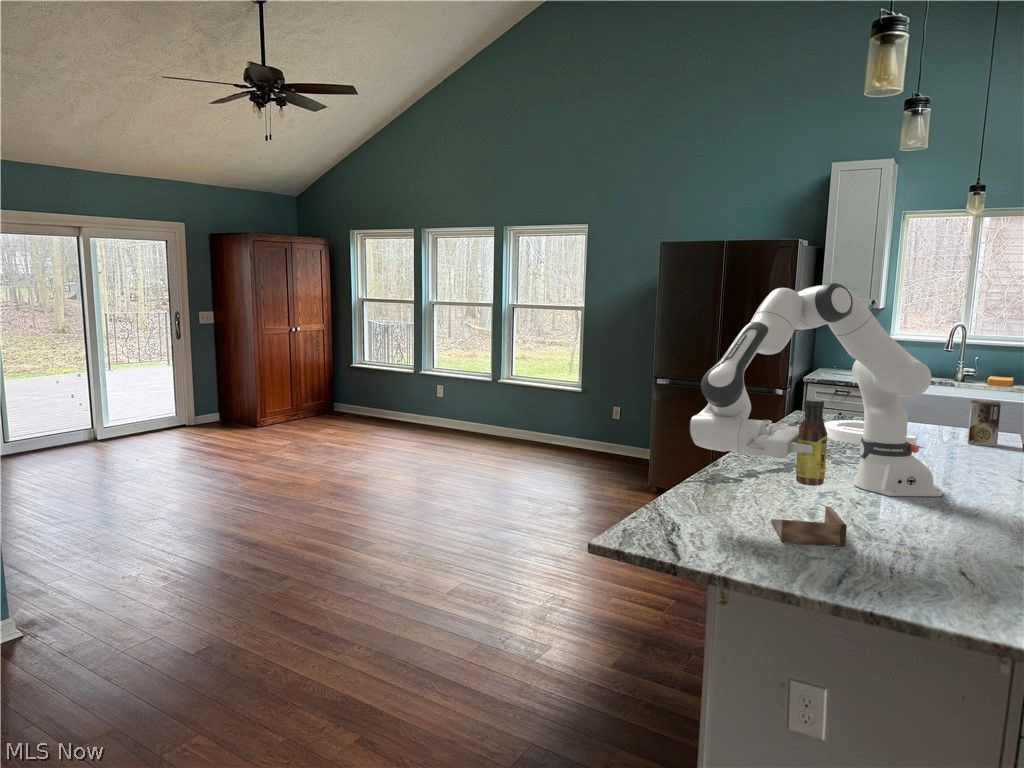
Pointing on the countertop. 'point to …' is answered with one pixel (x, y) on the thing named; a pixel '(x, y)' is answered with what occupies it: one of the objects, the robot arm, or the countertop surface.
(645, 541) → the countertop surface
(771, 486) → the countertop surface
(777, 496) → the countertop surface
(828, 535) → the corner arena
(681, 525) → the countertop surface
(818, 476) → the sauce bottle
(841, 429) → the ring with crossbar
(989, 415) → the food box
